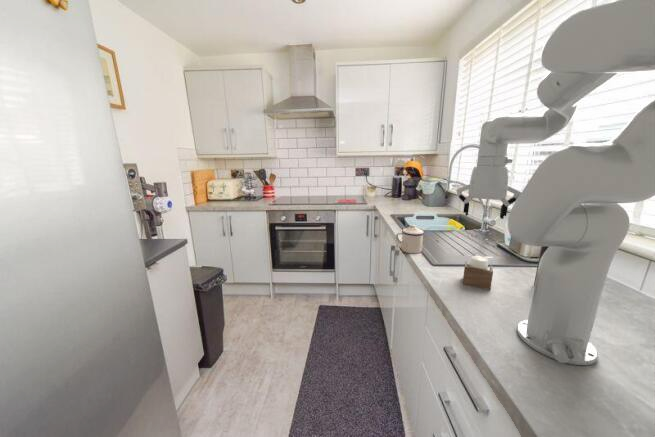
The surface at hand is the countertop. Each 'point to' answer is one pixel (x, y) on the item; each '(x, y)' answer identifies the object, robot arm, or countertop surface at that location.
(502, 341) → the countertop surface
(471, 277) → the caddy
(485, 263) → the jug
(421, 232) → the teacup with lid
